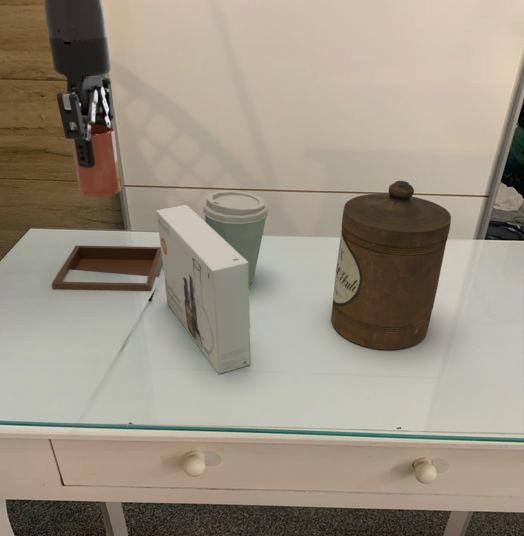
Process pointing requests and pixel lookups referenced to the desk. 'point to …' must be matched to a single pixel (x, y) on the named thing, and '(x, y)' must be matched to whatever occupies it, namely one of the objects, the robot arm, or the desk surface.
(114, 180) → the cup
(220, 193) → the disposable coffee cup
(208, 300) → the skincare box
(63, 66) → the robot arm
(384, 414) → the desk surface
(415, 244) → the wooden container
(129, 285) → the tray
